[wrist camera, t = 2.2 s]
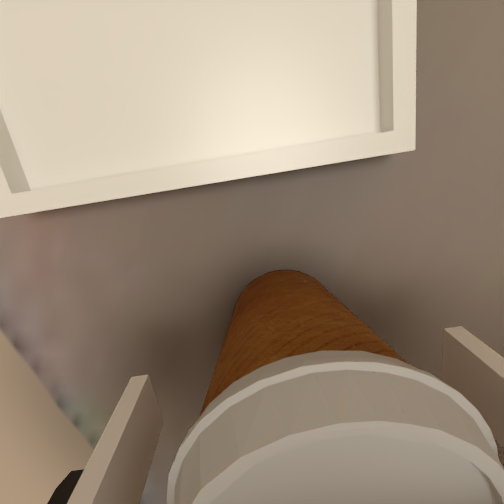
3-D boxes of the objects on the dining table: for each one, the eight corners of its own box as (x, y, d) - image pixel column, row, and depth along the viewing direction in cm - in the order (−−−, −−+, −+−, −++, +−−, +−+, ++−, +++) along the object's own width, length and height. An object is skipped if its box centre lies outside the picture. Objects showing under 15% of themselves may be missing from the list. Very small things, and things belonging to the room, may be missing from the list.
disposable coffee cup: (196, 256, 17) (102, 437, 6) (354, 233, 17) (578, 372, 6) (223, 385, 20) (195, 680, 9) (359, 366, 20) (516, 641, 8)
